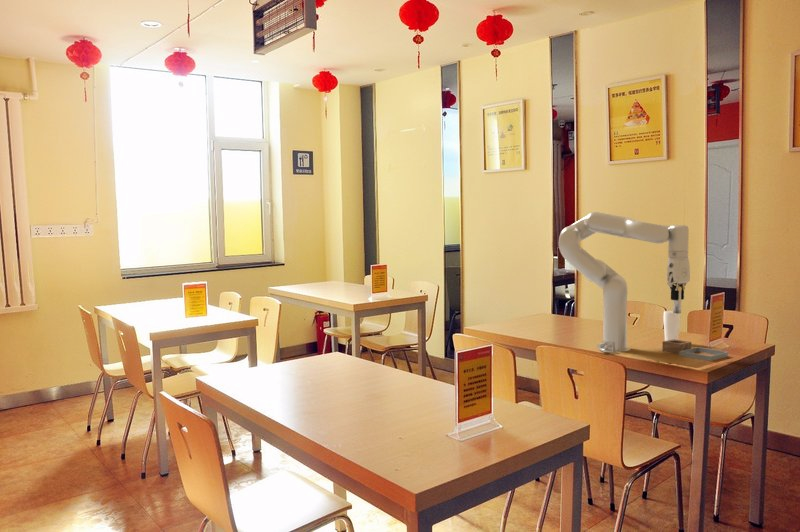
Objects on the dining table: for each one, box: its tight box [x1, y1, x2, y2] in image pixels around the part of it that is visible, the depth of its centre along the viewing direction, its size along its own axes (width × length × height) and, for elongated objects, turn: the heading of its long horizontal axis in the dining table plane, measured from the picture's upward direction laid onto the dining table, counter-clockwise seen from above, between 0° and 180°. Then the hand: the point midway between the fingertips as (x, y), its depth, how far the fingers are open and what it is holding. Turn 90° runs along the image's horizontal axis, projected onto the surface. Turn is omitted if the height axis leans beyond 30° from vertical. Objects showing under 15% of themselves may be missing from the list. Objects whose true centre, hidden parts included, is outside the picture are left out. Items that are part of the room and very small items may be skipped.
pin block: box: [661, 339, 692, 355], centre depth 266 cm, size 8×8×5 cm
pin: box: [672, 285, 682, 314], centre depth 264 cm, size 3×3×12 cm
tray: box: [678, 346, 729, 362], centre depth 256 cm, size 13×13×3 cm
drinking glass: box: [662, 310, 681, 341], centre depth 282 cm, size 7×7×15 cm
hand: (677, 299), depth 264 cm, fingers closed on pin, 3 cm apart
